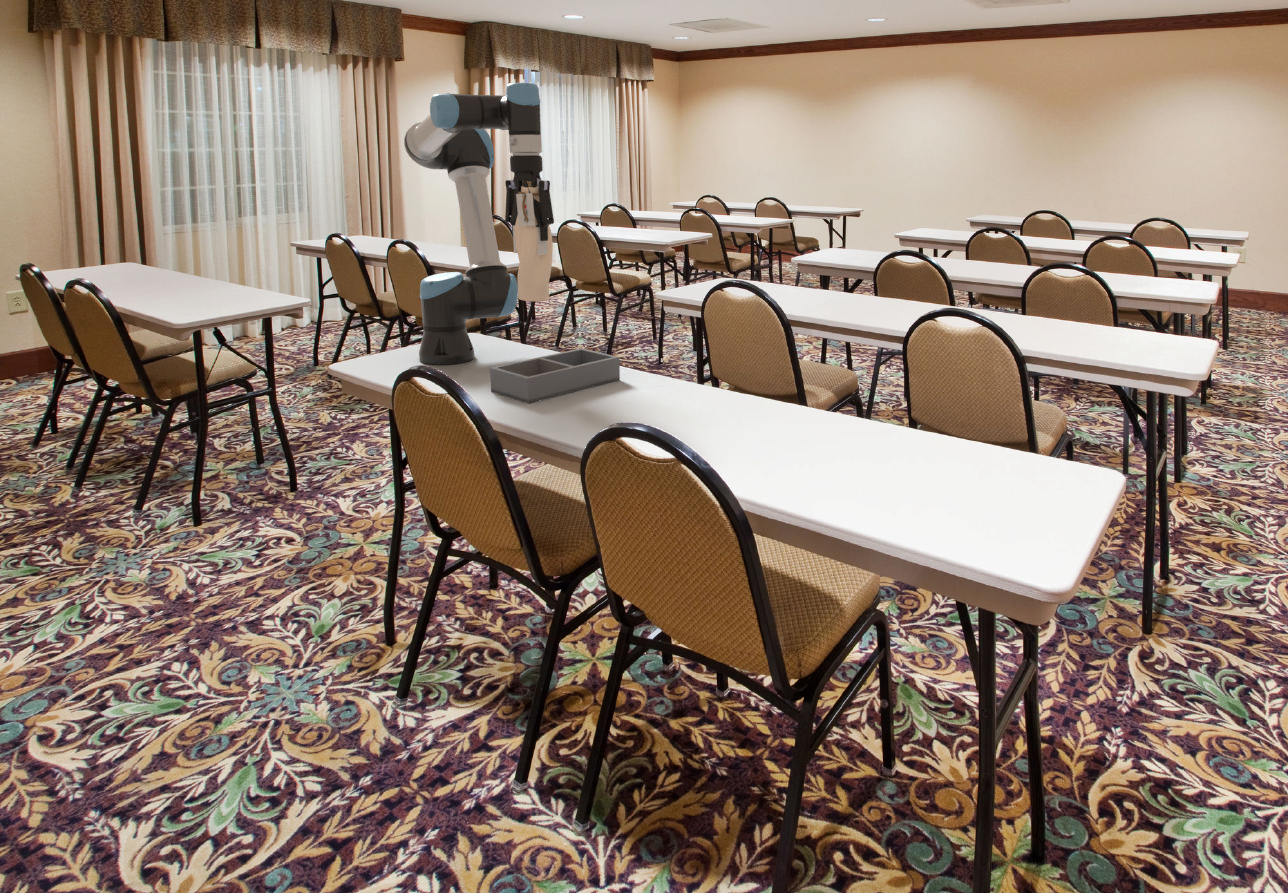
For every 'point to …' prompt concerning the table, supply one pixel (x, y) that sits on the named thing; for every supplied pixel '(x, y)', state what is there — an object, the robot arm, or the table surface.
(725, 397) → the table surface
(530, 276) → the water bottle
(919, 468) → the table surface
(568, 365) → the bottle caddy
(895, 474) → the table surface
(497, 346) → the table surface
